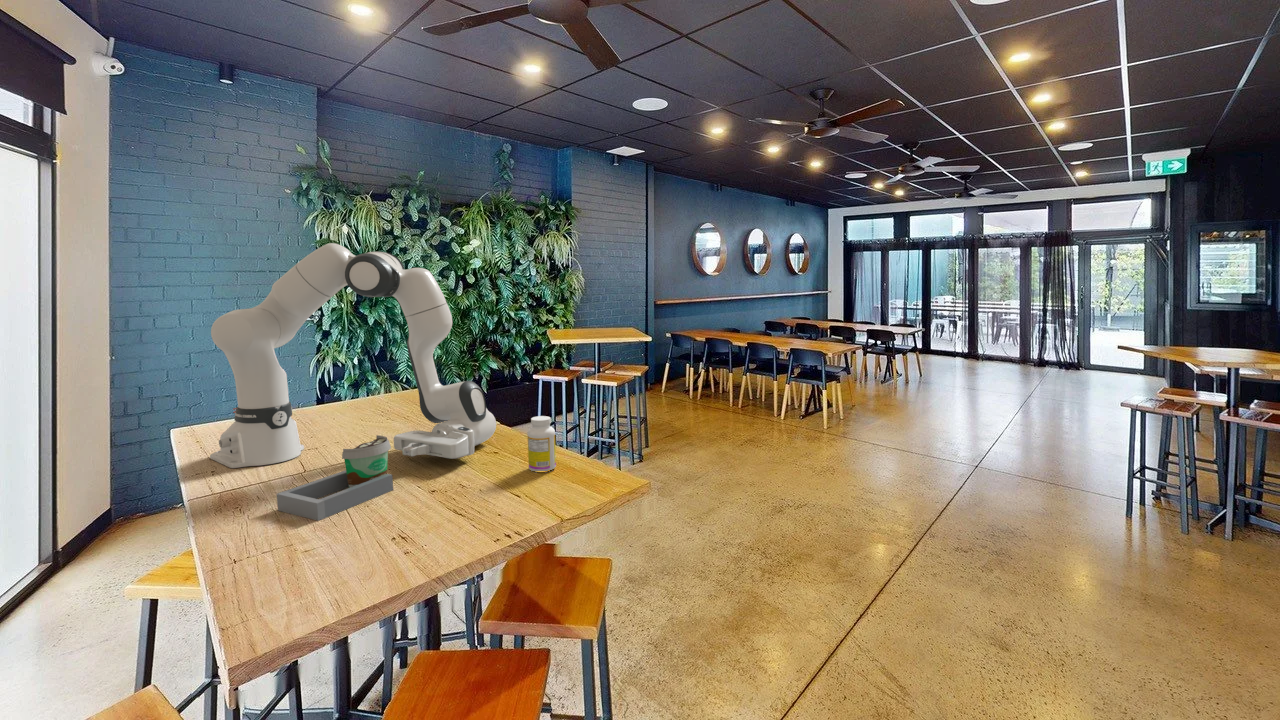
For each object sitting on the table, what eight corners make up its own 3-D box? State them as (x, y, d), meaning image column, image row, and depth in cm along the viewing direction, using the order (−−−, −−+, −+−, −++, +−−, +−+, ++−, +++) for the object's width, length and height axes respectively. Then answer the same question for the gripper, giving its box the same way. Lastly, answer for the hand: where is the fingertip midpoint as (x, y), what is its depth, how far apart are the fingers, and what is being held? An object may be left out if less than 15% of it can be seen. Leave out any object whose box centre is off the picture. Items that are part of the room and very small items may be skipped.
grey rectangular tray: (277, 510, 116) (276, 493, 115) (354, 482, 132) (353, 467, 132) (318, 520, 111) (317, 503, 110) (393, 489, 127) (392, 474, 127)
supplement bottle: (542, 463, 146) (541, 413, 144) (561, 468, 142) (560, 417, 140) (522, 470, 140) (521, 418, 139) (542, 475, 136) (540, 422, 135)
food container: (369, 496, 124) (366, 451, 122) (344, 494, 125) (341, 449, 123) (404, 477, 135) (401, 435, 134) (380, 475, 137) (378, 434, 135)
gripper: (417, 422, 154) (374, 434, 142) (478, 430, 146) (438, 444, 133) (418, 445, 155) (376, 459, 143) (479, 454, 147) (439, 471, 134)
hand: (406, 452), depth 138 cm, fingers closed
